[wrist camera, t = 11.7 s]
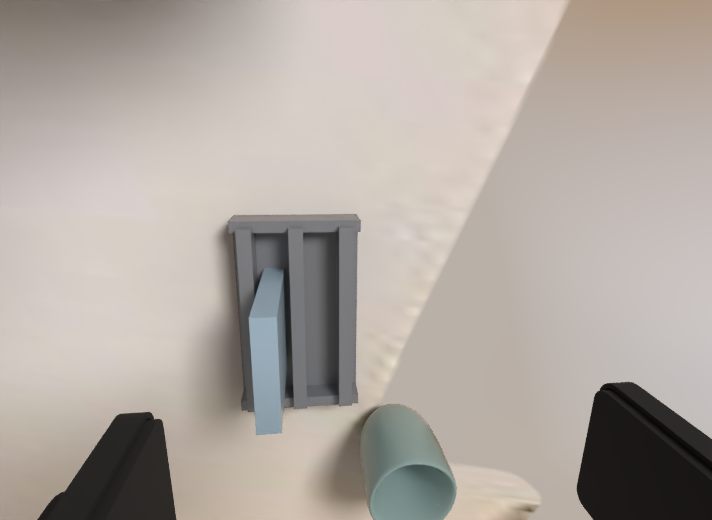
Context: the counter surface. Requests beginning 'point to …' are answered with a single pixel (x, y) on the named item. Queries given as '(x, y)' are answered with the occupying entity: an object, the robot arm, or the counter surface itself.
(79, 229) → the counter surface
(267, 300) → the light blue upright panel
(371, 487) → the cup
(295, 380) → the rack
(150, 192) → the counter surface
